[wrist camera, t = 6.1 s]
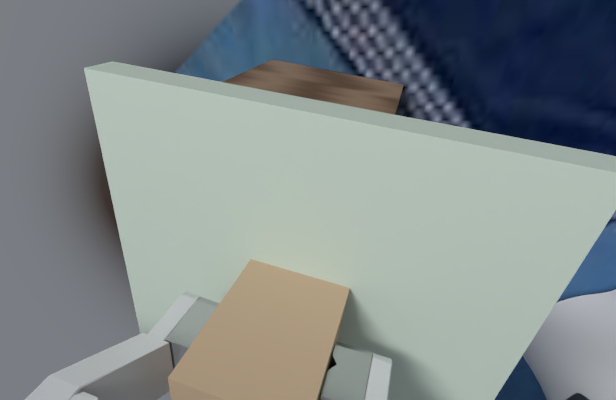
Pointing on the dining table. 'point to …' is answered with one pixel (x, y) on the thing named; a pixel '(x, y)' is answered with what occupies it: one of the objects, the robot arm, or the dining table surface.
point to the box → (322, 85)
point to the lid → (338, 234)
